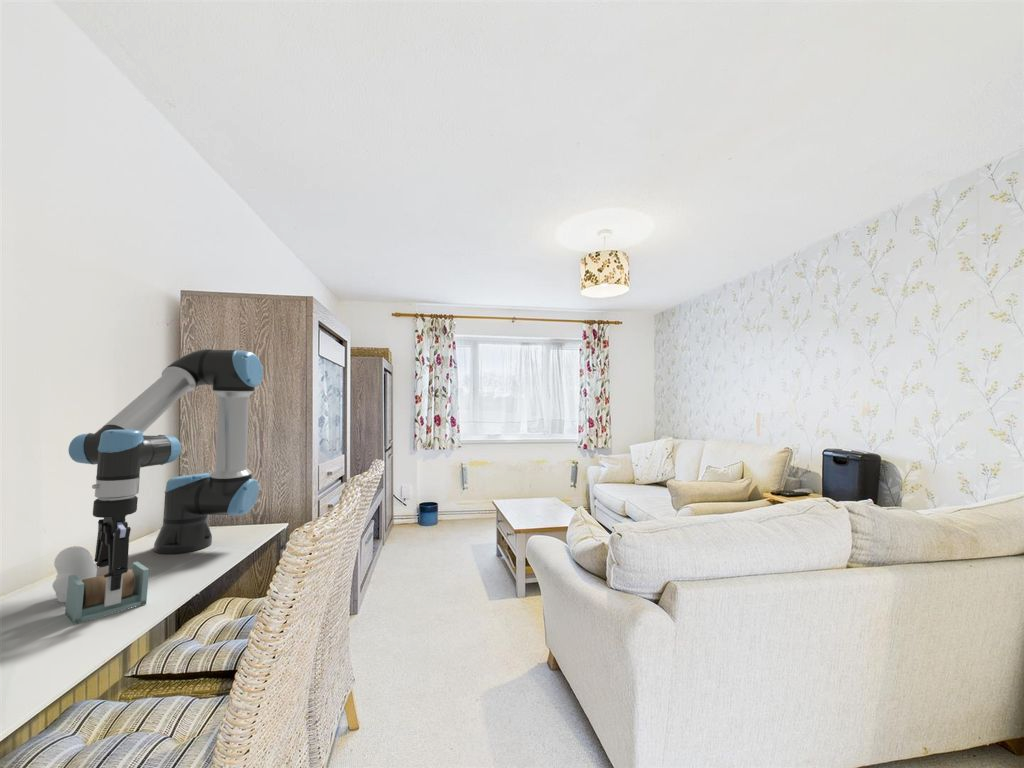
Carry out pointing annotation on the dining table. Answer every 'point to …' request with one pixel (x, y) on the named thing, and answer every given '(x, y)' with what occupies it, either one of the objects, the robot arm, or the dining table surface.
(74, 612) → the cradle
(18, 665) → the dining table surface
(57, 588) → the figurine
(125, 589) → the roll
